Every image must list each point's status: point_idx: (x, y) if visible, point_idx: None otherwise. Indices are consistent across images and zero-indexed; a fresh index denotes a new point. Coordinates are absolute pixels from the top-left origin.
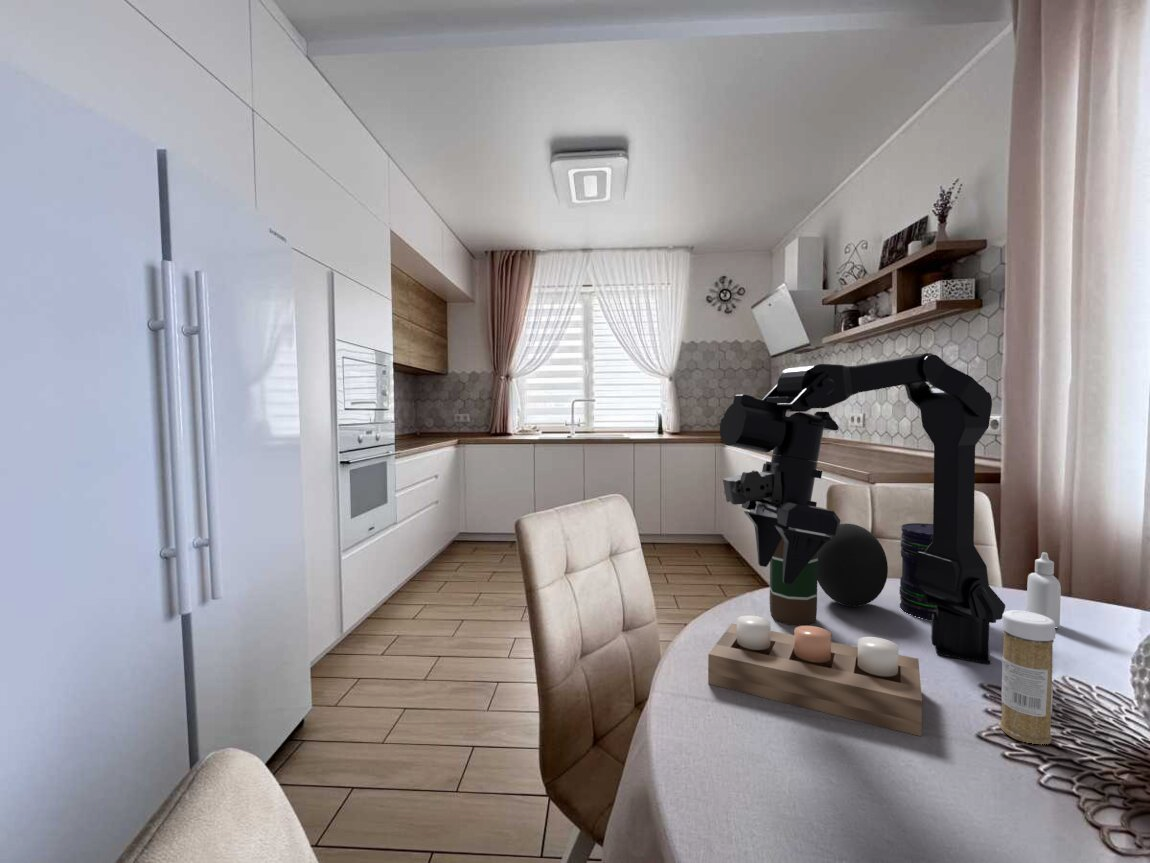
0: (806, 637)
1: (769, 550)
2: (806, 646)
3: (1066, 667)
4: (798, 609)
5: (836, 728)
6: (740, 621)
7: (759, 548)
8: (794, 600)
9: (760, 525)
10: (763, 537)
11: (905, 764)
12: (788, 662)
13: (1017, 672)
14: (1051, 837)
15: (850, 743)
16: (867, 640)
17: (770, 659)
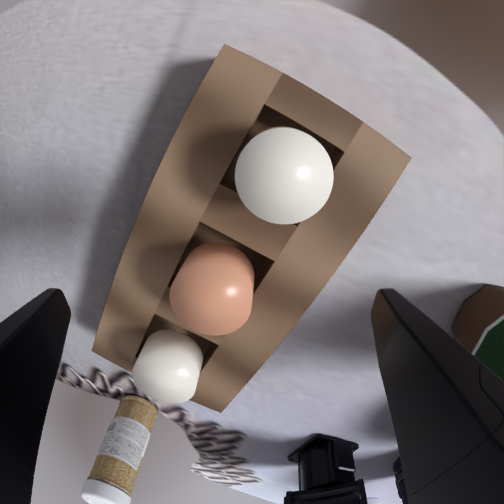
0: (177, 277)
1: (396, 381)
2: (181, 267)
3: (277, 486)
4: (468, 332)
5: (105, 233)
6: (284, 136)
7: (417, 344)
8: (478, 336)
9: (493, 466)
10: (442, 415)
11: (56, 276)
12: (185, 215)
13: (104, 447)
14: None
15: (77, 235)
16: (177, 376)
17: (198, 180)
